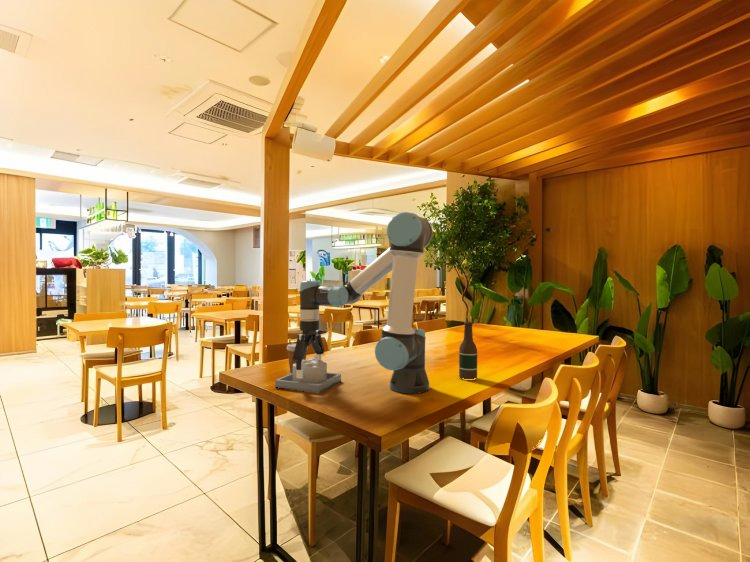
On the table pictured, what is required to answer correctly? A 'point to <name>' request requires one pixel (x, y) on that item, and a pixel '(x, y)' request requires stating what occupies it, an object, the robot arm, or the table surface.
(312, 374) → the lumpy-topped squat cylinder
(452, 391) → the table surface
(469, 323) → the beer bottle
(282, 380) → the charcoal tray
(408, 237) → the robot arm
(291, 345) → the disposable coffee cup
